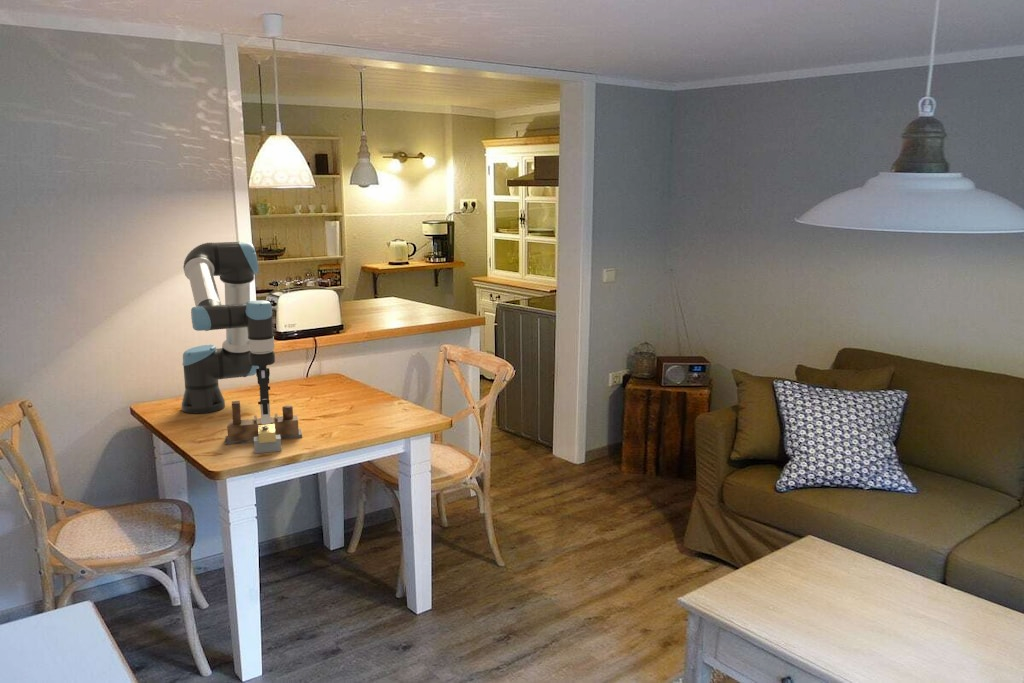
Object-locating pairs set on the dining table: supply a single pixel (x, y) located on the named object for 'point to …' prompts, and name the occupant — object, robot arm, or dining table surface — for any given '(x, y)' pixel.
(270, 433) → the lever cap
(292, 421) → the plane body
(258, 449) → the block
